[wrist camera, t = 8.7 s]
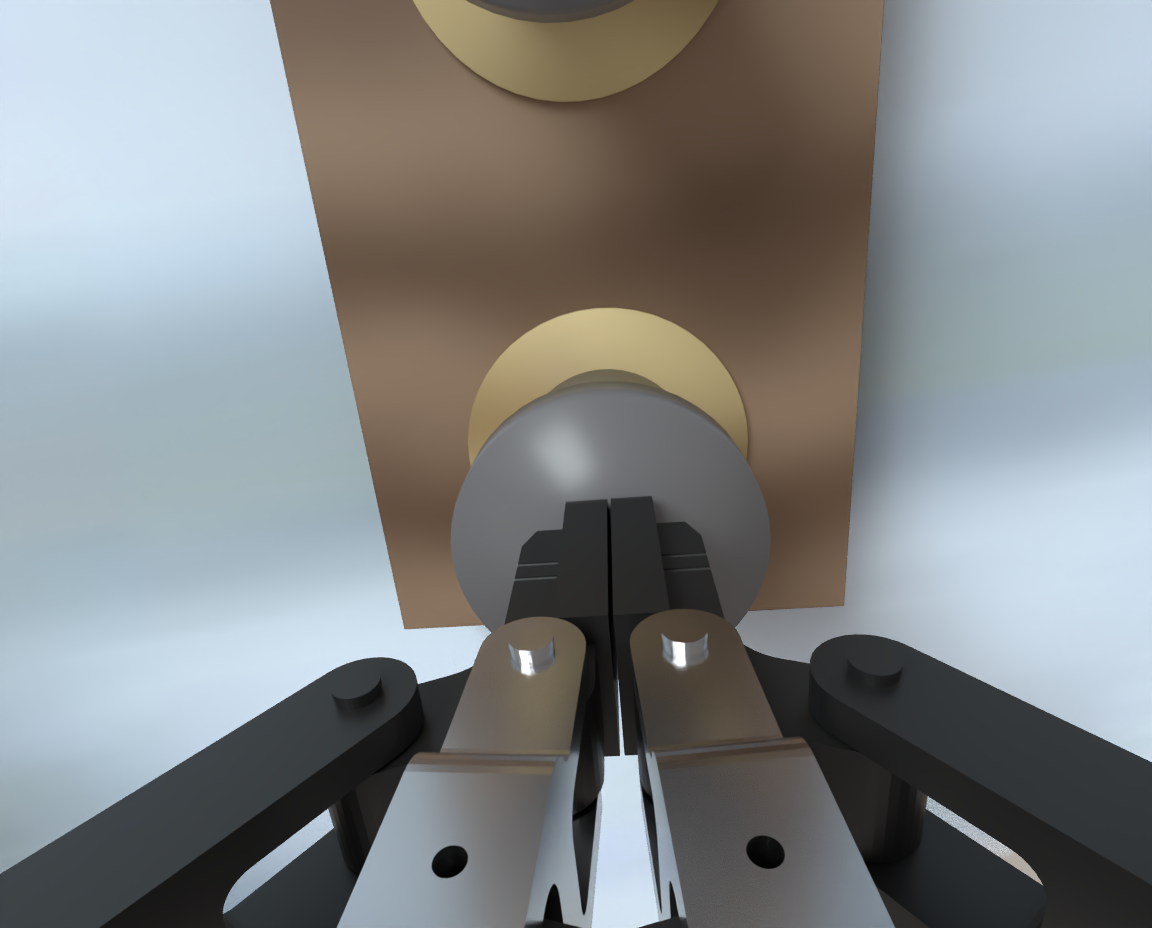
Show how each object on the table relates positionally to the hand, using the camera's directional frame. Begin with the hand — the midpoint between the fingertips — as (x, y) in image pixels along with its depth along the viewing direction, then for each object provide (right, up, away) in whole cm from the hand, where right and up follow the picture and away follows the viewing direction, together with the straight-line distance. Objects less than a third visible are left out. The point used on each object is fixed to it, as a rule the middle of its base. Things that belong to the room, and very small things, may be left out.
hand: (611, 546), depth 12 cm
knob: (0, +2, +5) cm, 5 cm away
